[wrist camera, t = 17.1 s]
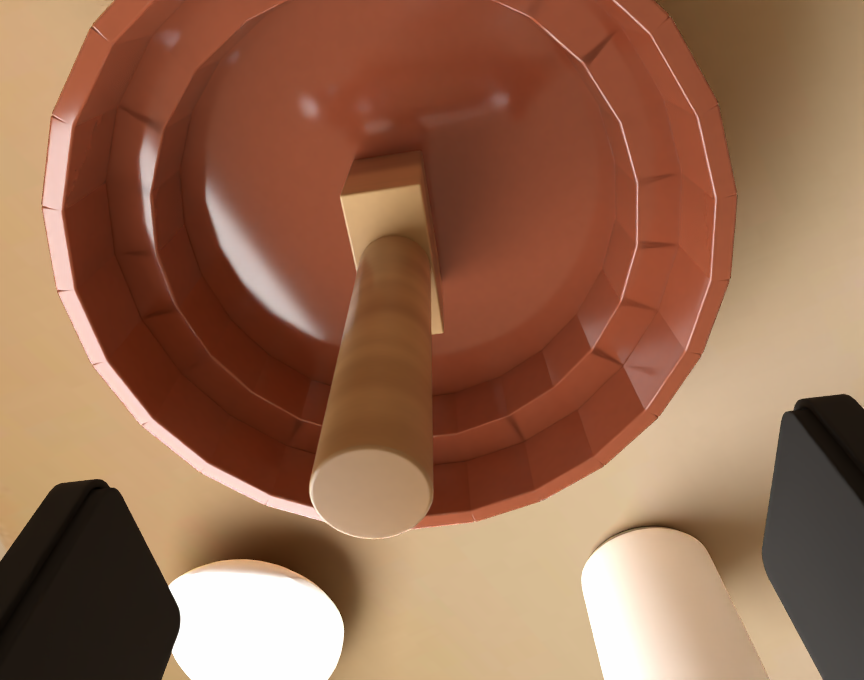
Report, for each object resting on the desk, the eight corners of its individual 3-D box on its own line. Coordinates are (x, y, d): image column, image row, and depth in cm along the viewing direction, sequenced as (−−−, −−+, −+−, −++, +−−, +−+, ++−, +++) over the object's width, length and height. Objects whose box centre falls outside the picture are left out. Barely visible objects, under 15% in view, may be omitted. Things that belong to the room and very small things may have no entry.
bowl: (35, -40, 20) (-102, -42, 15) (676, -153, 19) (771, -198, 14) (224, 451, 30) (180, 556, 24) (660, 397, 28) (713, 496, 23)
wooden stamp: (352, 159, 23) (266, 387, 11) (421, 149, 23) (416, 368, 10) (379, 290, 25) (334, 597, 13) (442, 282, 25) (456, 585, 13)
